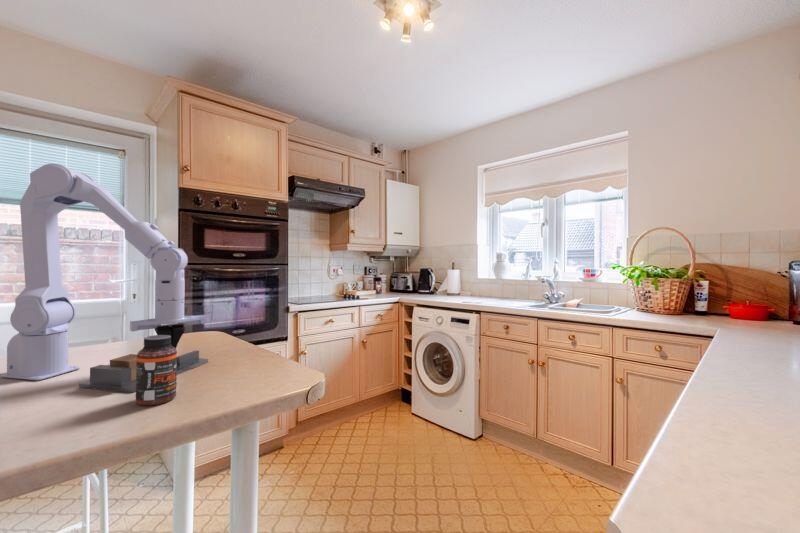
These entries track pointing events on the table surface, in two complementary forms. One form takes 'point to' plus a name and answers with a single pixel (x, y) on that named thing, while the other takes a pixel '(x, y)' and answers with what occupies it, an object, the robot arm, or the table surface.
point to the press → (121, 376)
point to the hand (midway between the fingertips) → (169, 358)
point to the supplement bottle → (156, 371)
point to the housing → (126, 363)
